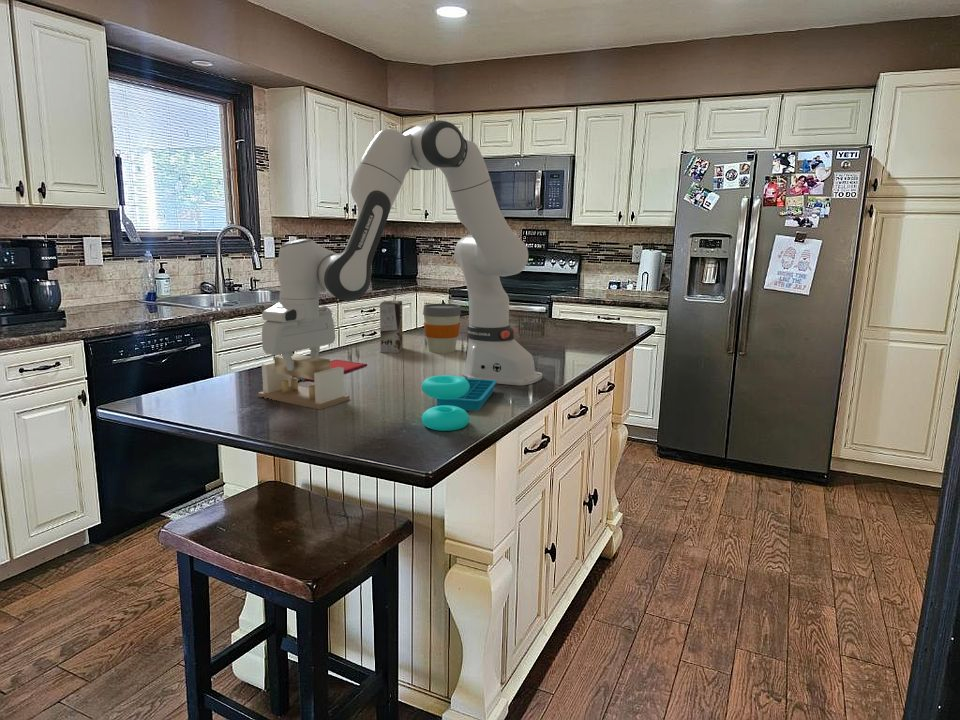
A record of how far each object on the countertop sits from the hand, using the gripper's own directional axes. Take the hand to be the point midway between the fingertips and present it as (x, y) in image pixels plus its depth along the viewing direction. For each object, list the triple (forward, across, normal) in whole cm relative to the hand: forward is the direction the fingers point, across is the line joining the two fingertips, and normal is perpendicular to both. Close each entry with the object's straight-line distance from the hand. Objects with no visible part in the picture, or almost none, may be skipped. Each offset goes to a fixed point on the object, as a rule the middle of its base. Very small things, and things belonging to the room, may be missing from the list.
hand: (302, 367), depth 152 cm
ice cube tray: (+8, -21, +33) cm, 40 cm away
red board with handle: (+8, -21, -16) cm, 28 cm away
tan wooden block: (+2, 0, 0) cm, 2 cm away
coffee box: (+8, -59, -19) cm, 63 cm away
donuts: (+8, -1, +40) cm, 41 cm away
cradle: (+8, 0, 0) cm, 8 cm away
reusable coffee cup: (+8, -68, -5) cm, 69 cm away
